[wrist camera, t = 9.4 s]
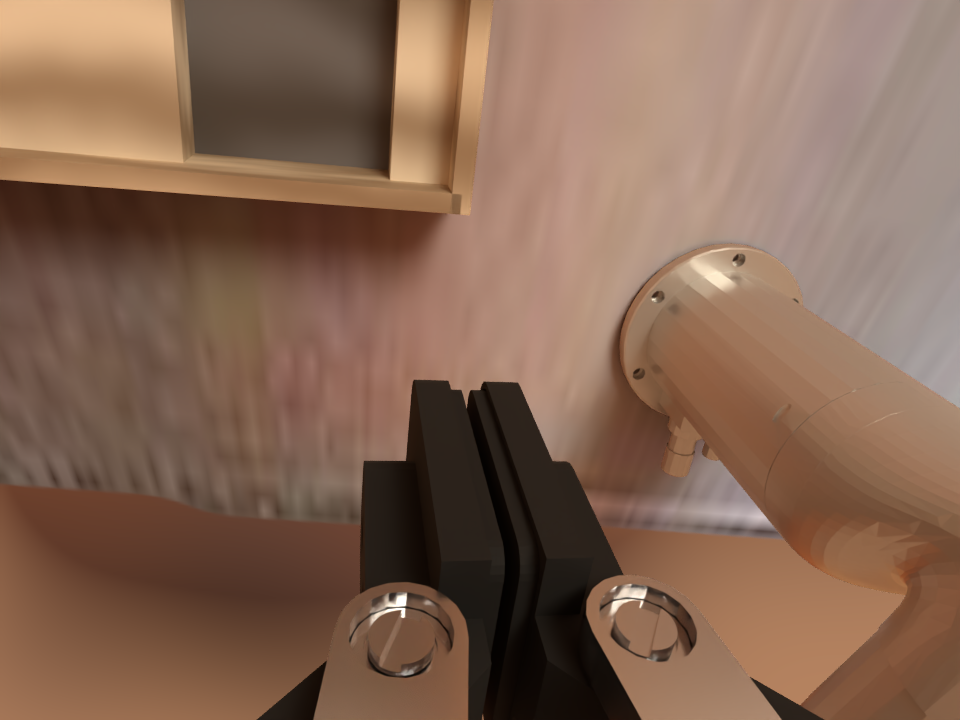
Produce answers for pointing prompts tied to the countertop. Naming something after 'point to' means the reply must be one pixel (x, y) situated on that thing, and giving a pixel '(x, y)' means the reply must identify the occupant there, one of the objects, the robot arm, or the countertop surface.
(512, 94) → the countertop surface
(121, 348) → the countertop surface
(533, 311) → the countertop surface
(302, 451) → the countertop surface
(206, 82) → the trap box
